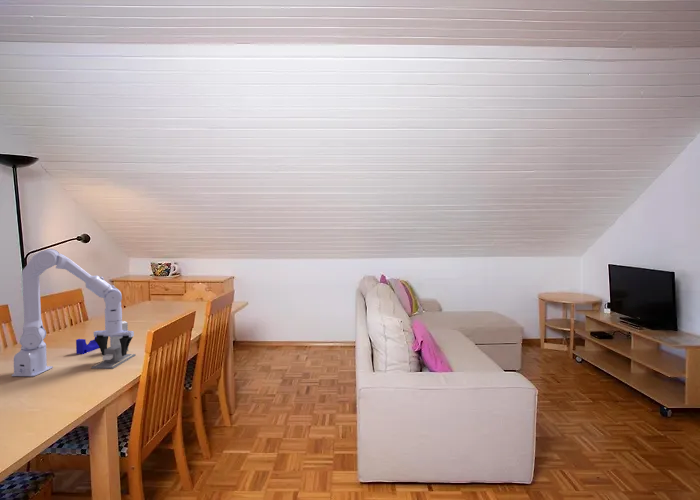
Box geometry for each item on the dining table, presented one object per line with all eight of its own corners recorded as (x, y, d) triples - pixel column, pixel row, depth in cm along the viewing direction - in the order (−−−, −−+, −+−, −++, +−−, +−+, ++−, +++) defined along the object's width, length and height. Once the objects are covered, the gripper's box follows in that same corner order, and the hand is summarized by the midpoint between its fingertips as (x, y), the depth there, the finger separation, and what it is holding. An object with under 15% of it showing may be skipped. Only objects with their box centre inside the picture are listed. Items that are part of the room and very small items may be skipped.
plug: (124, 357, 166) (123, 345, 166) (111, 364, 158) (111, 351, 158) (113, 357, 166) (113, 344, 166) (100, 364, 158) (100, 351, 158)
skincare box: (125, 348, 181) (125, 320, 180) (128, 350, 178) (128, 322, 177) (109, 351, 177) (109, 322, 176) (112, 353, 174) (111, 324, 173)
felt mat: (112, 368, 155) (112, 366, 155) (91, 368, 155) (91, 366, 155) (135, 355, 171) (135, 353, 171) (115, 355, 171) (115, 353, 171)
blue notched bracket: (95, 345, 185) (94, 332, 184) (104, 346, 184) (104, 332, 184) (73, 354, 173) (72, 339, 173) (82, 354, 172) (82, 340, 172)
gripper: (137, 318, 166) (138, 352, 167) (101, 317, 166) (101, 351, 167) (128, 322, 159) (128, 357, 160) (89, 321, 159) (90, 357, 160)
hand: (114, 355), depth 163 cm, fingers open, 7 cm apart
